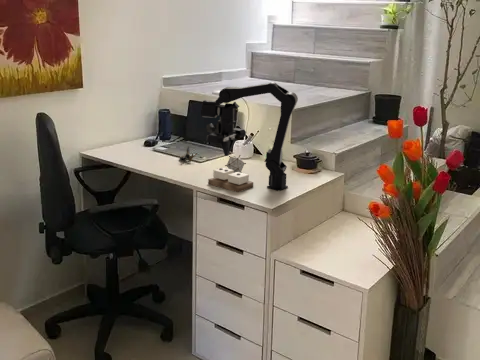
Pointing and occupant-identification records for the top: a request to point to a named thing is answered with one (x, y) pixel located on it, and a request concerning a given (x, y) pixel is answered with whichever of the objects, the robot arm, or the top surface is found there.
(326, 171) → the top surface
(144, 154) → the top surface
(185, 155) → the eagle figurine
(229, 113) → the robot arm
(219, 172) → the tile two
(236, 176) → the tile one
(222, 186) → the brown flat slab
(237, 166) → the game die
